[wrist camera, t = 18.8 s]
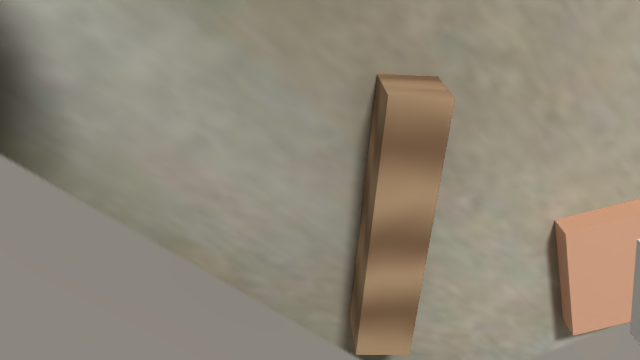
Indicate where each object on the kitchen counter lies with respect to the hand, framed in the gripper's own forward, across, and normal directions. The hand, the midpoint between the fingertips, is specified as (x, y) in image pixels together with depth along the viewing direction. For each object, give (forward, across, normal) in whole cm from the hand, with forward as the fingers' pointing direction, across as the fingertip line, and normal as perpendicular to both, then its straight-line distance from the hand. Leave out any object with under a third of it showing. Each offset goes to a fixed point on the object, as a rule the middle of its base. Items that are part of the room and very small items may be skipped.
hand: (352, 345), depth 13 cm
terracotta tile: (+25, +21, -17) cm, 37 cm away
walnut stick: (+27, +4, -13) cm, 30 cm away
